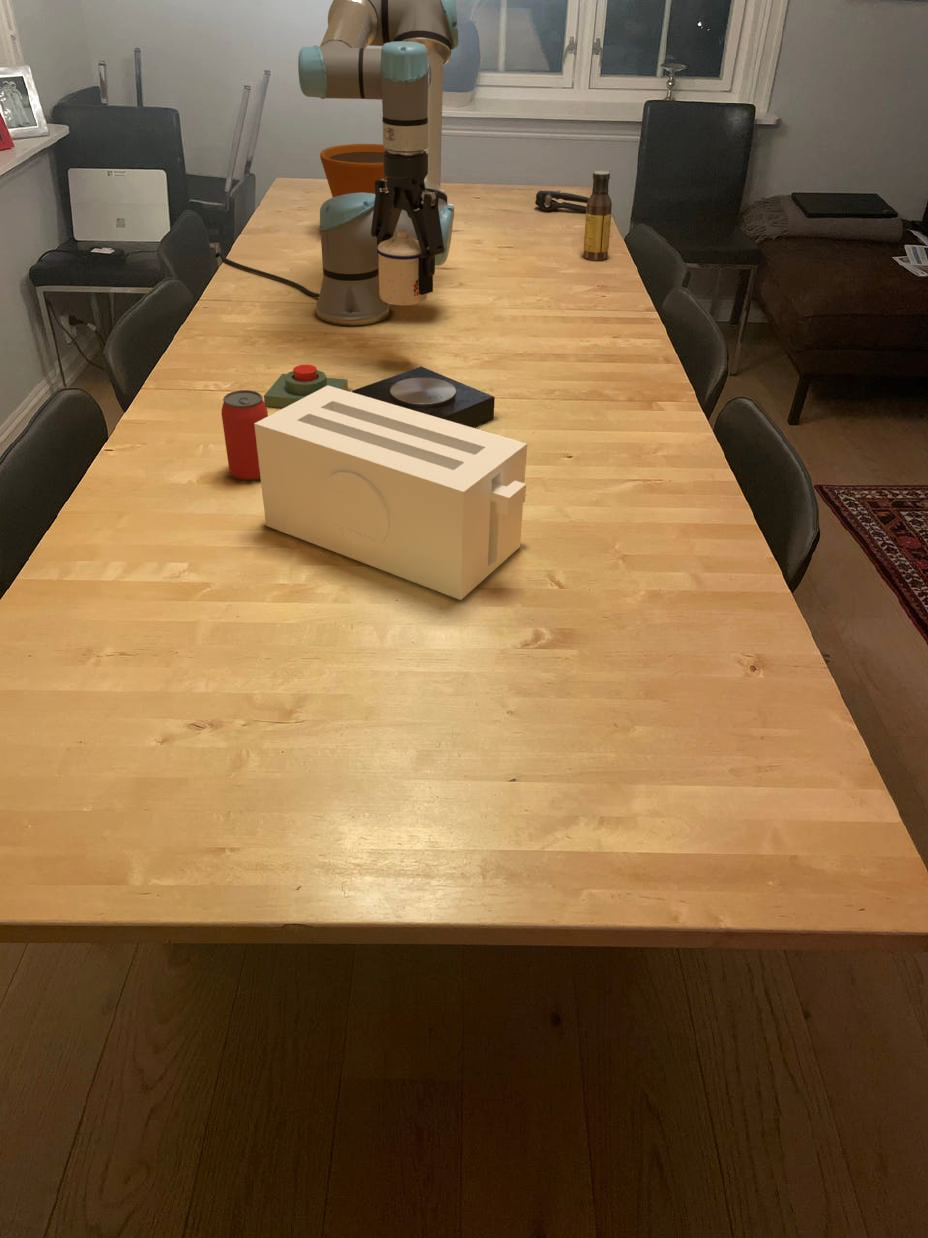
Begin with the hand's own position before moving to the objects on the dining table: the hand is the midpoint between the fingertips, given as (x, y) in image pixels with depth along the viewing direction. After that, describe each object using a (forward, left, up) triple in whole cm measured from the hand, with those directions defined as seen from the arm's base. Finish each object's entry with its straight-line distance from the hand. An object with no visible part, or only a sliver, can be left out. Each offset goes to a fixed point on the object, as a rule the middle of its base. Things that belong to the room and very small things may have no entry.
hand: (407, 285), depth 174 cm
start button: (0, -24, -11) cm, 27 cm away
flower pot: (-71, +52, -15) cm, 89 cm away
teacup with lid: (-1, 0, -2) cm, 2 cm away
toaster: (+46, -44, -15) cm, 66 cm away
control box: (0, -24, -14) cm, 28 cm away
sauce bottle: (-20, +82, -15) cm, 85 cm away
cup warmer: (+19, -14, -14) cm, 28 cm away
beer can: (+16, -47, -15) cm, 52 cm away
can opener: (-54, +112, -15) cm, 125 cm away
